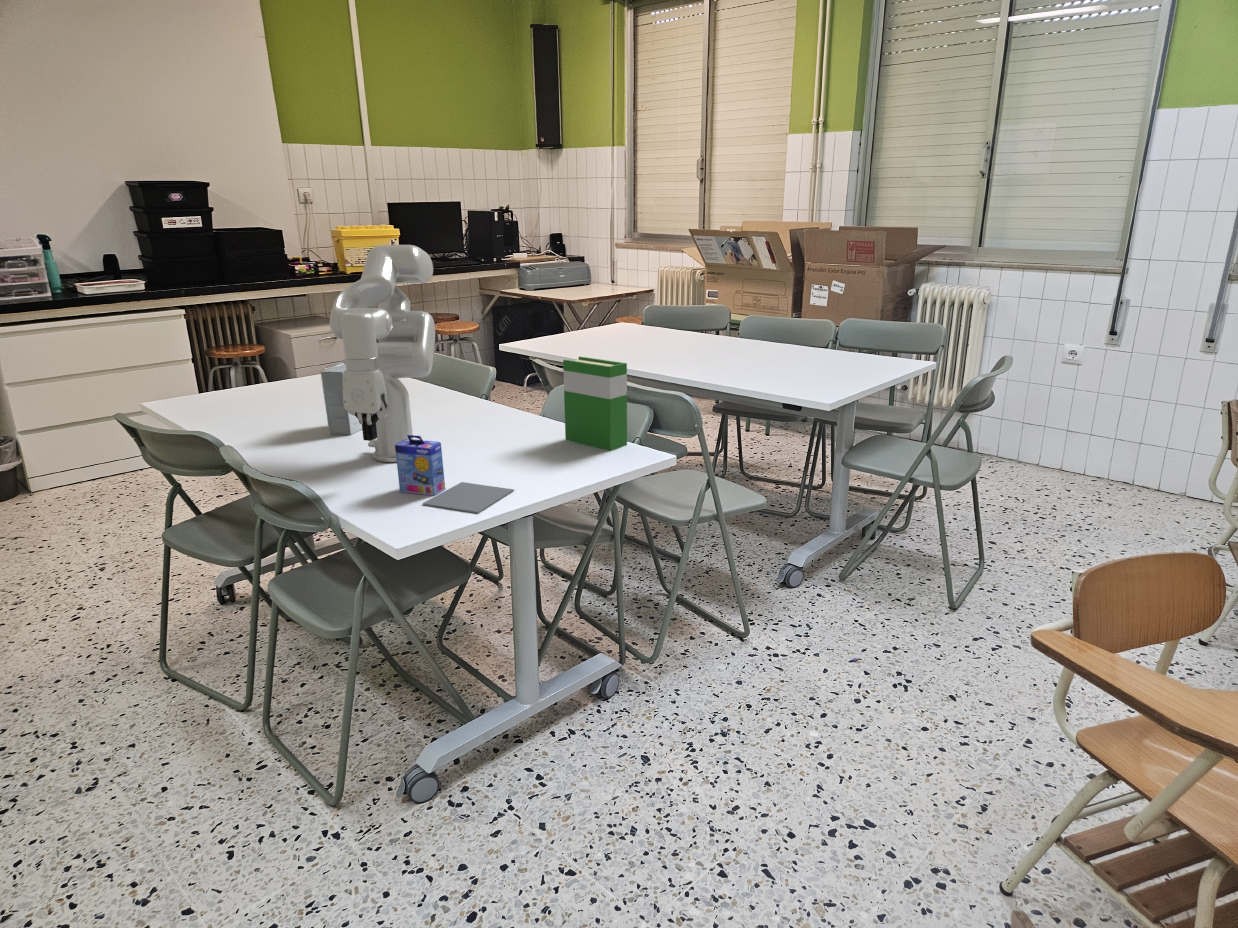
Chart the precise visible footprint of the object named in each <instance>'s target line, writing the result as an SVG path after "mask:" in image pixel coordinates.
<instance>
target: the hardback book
mask: <svg viewBox="0 0 1238 928" xmlns="http://www.w3.org/2000/svg"><path fill="white" fill-rule="evenodd" d="M562 363H563V364H562V366H563V367H562V368H563V397H564V399H563V400H564V402H563V405H564V427H565V429H564V430H565V439H564V440H565V441H567V442H572V443H576V444H579V445H580V444H581V445H585V446H589V447H593V448H597V449H601V450H604V451H610V452H611V451H615V450H617V449H620V448H623V447H626V446H628V363H627V362H621V361H614V360H608V359H602V358H601V359H600V358H592V357H586V356H578V359H576V360H570V359H563V360H562Z"/></svg>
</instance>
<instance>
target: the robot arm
mask: <svg viewBox="0 0 1238 928" xmlns="http://www.w3.org/2000/svg"><path fill="white" fill-rule="evenodd" d="M433 274H434V264H433V261H432V259H431V257H430V254H428V253H427V252H426V251H425V250H423V249H422V248H420V247H418V246H417V245H413V244H380V245H376V246H373V247H372V248H371V249H370V250H369V251H368V254H367V256H366V260H365V264H364V267H363V269H362V274H361V277H360V279H358V280H357V281H355V282H353V283H351V284H350V285H348V286H347V287H346V288H344V289H343V290H342V291H341V292H339V293H338V294H337V296H336V297H335V299H334V302H333V305H332V308H331V311H330V317H329V326H330V327H329V328H330V331H331V333H332V335H333V336H334V337H335V338H337V339H339V340H342V343H343V352H344V359H343V360H342V363H344V364H346V370H345V371H344V374H343V403H344V408H345V410H347V411H349V414H351V415H354V416H356V417H357V419H358V420H359V423H360V424H362V429H361V430H362V439H363V441H368V442H367V447H370V448H374V449H375V451H374V452H373V453H372V458H373V459H374V460H375V461H378V462H383V463H397V460H396V451H395V444H397V443H399V442H401V441H403V440H405V439H408V436H407V435H414V434H413V424H412V415H411V413H412V412H411V404H410V394H409V391H408V390H407V388H406V386H405V384H403V382H402V381H401V380H400V379H406V378H407V379H408V378H410V379H411V378H412V379H414V378H425V377H428V376H429V375H430V374H431V372H432V368H433V363H434V352H435V343H436V327H435V326H436V325H435V321H434V318H433V316H432V315H431V314H430V313H428V312H427V311H422V310H415V311H414V310H411V301H410V299H409V298H408V296H407V295H406V293H405V292H403V290H401V288H399V287H398V286H396V284H426V283H429V282H430V281H431V280H432V278H433ZM377 305H378V307H373V306H377ZM377 341H378V342H377ZM372 415H373V416H372ZM411 439H414V438H411Z"/></svg>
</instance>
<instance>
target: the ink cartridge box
mask: <svg viewBox="0 0 1238 928" xmlns="http://www.w3.org/2000/svg"><path fill="white" fill-rule="evenodd" d="M407 436H408V439H405V440H403V441H401V442H399V443H397V444H395V451H396V460H397V462H396V468H397V477H398V486H399V492H400V493H406V494H416V495H417V494H418V495H423V496H424V495H425V496H430V497H432V496H433V497H435V496H437V495H439V494H441V493H442V492H444V491H445V490H446V483H445V472H444V471H445V470H444V462H443V451H442V443H441V442H439V441H437V440H436V441H433V440H423V437H422V436H421V435H414V434H413V435H407ZM411 438H413V439H411ZM414 438H415V439H414Z"/></svg>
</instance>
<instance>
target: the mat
mask: <svg viewBox="0 0 1238 928" xmlns="http://www.w3.org/2000/svg"><path fill="white" fill-rule="evenodd" d="M513 491H514V492H515V489H514V488H506V487H500V486H491V485H486V484H479V483H471V482H464V481H461V482H459V483H458V484H455V485H454V486H452V487H450V488H448V489H445V490H443V491H441V492H440V493H438V494H436V495H434V496H433V497H431V498H430V499H428V500H426V501H424V502H423V503H422V506H427V507H433V508H438V509H444V510H453V511H458V512H465V513H469V514H477V515H479V514H481V513H482V512H483V511H485V510H486V509H488V508H490V507H491V506H493V505H495V504H497V503H498V502H499V501H501V500H502V499H504V498H506V497H507V496H508V494H509V495H510V494H511V493H513Z"/></svg>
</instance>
